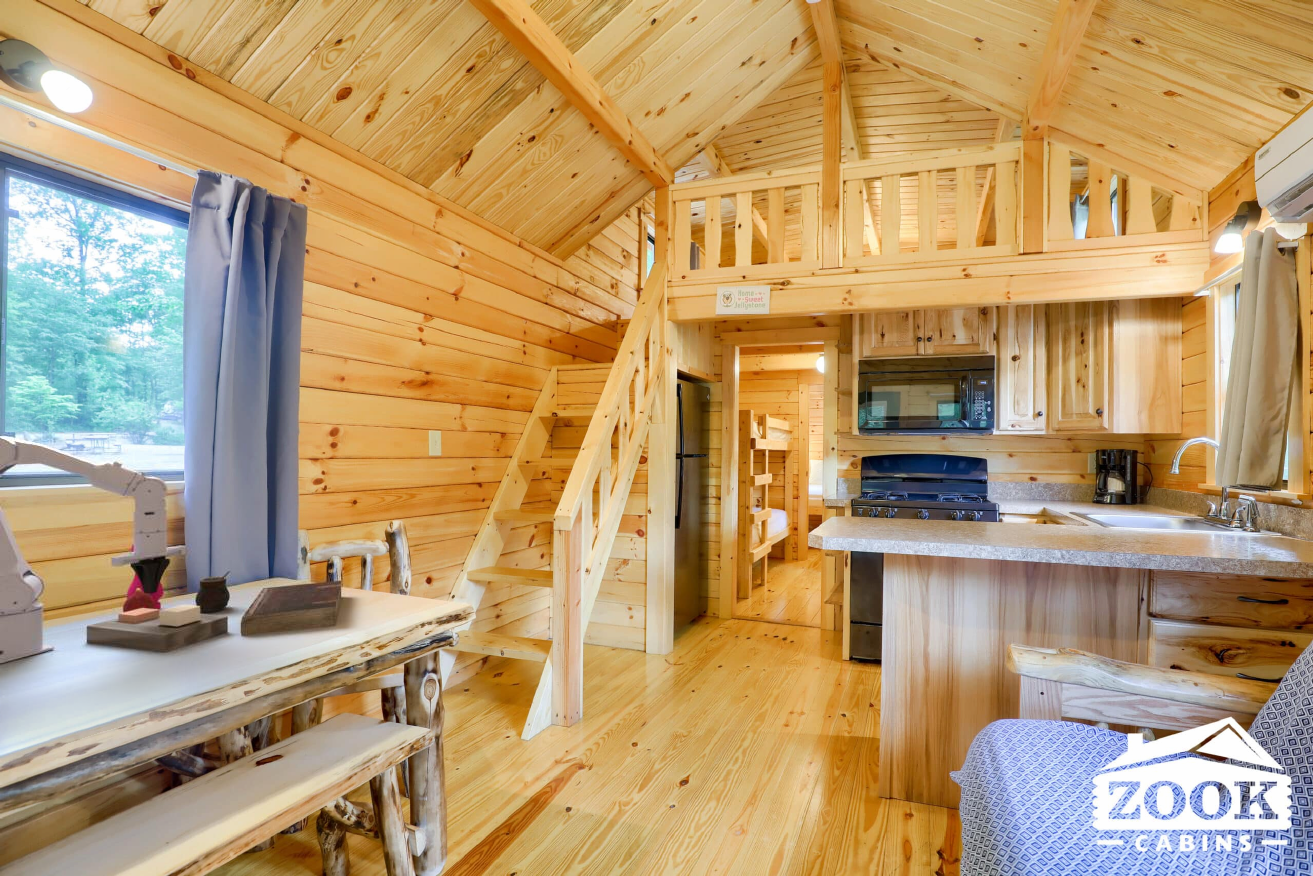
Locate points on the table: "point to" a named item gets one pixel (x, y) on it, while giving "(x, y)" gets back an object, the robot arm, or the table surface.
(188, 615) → the cream key
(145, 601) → the onion
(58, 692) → the table surface
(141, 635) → the key bed
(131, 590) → the pepper mill
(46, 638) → the table surface
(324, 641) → the table surface
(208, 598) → the mate gourd
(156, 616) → the terracotta key
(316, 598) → the hardback book
